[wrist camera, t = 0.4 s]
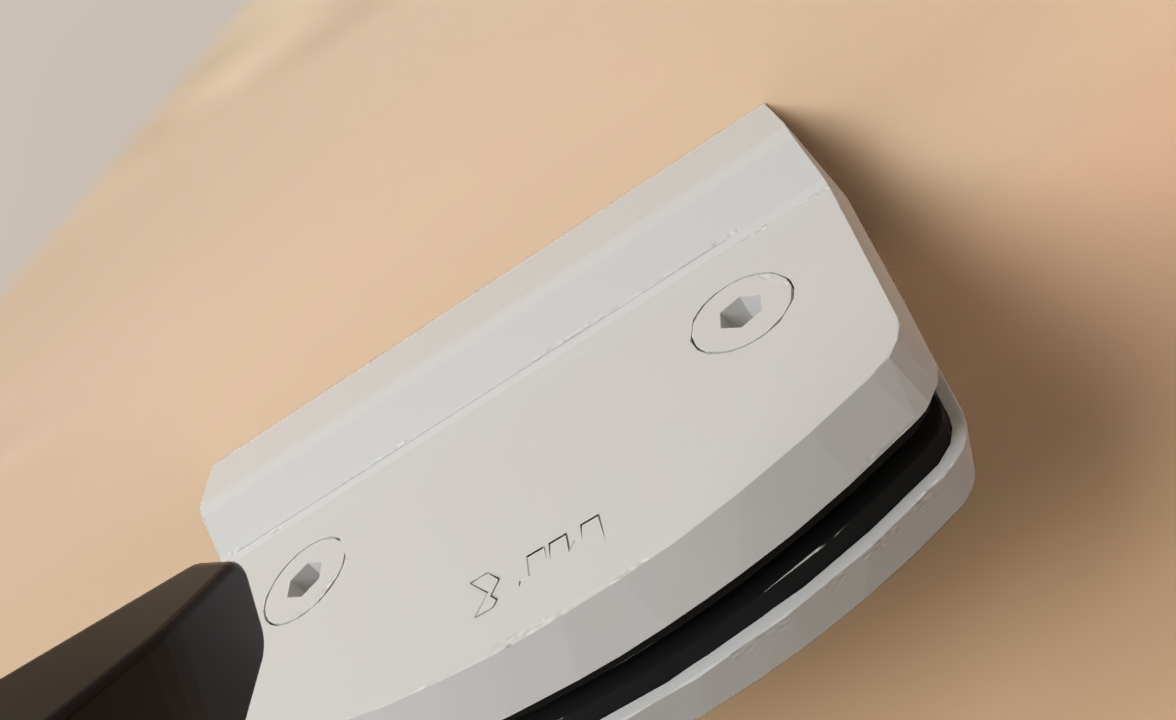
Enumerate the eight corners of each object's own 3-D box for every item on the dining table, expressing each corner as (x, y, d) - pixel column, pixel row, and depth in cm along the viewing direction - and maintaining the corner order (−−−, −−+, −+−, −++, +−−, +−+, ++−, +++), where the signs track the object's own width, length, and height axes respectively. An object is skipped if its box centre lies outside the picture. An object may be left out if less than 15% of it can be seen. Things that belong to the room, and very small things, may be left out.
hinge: (780, 92, 21) (1007, 303, 13) (865, 251, 24) (1105, 519, 15) (200, 472, 24) (73, 846, 16) (326, 580, 27) (276, 956, 18)
